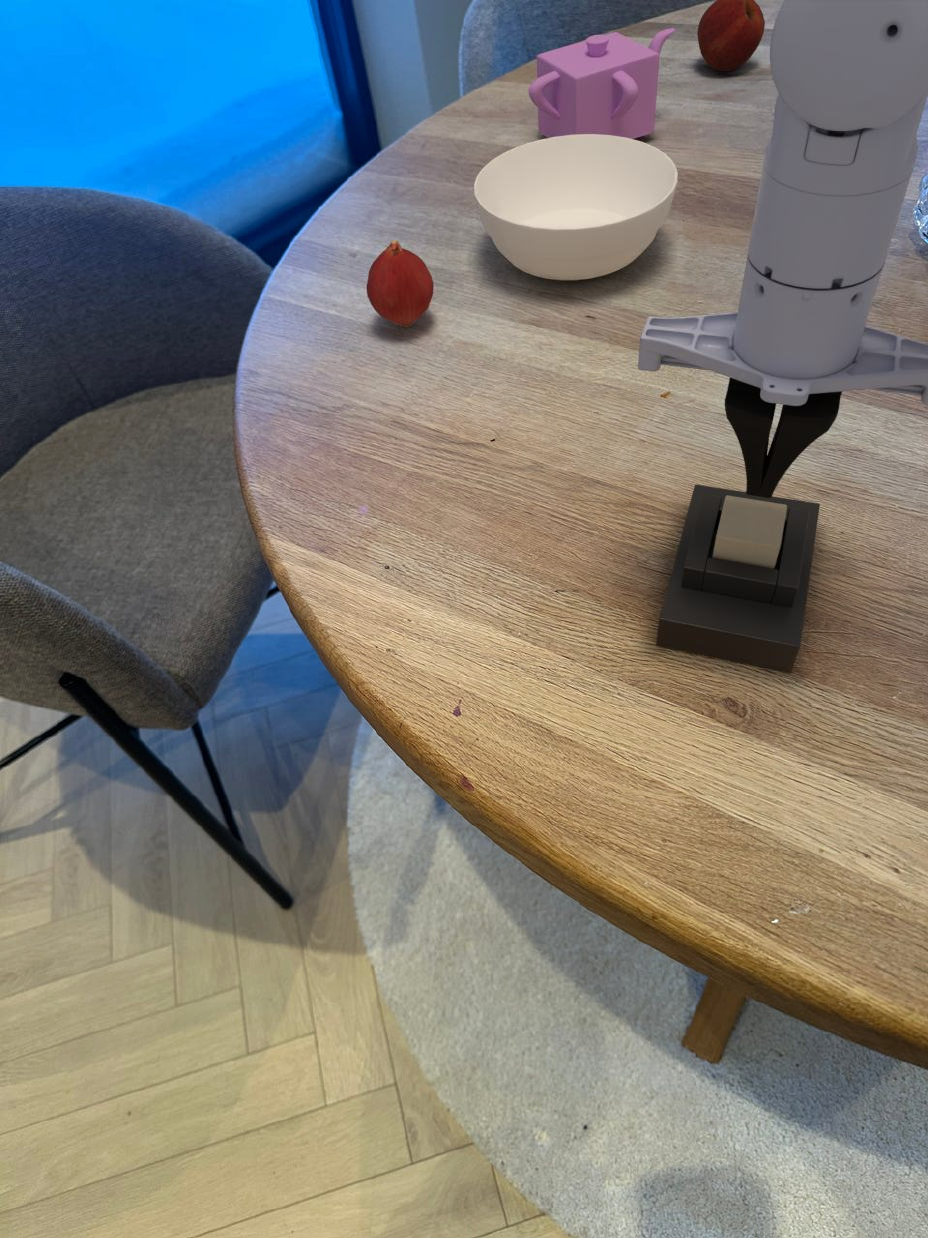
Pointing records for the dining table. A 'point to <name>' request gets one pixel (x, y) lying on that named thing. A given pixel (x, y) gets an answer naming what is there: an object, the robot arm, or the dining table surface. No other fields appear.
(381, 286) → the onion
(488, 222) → the bowl
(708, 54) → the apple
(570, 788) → the dining table surface
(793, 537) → the switch plate
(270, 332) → the dining table surface
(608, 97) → the teapot
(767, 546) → the switch
